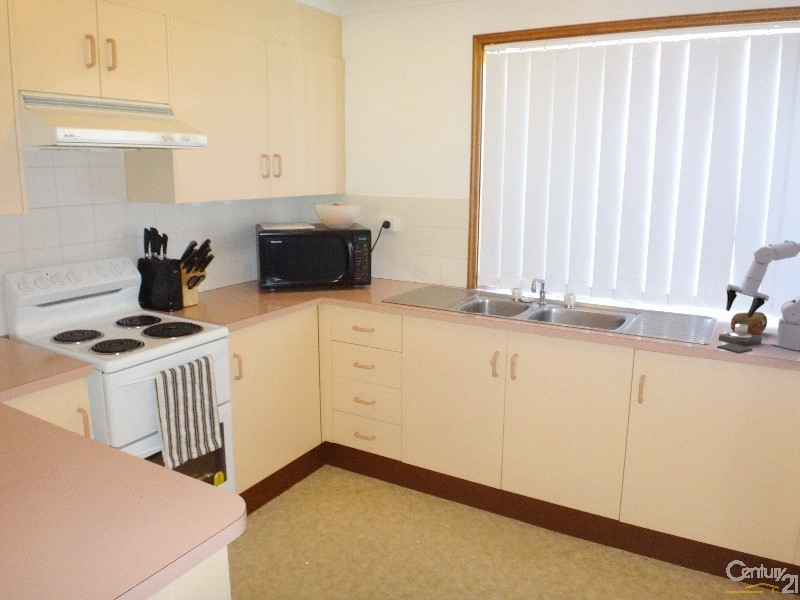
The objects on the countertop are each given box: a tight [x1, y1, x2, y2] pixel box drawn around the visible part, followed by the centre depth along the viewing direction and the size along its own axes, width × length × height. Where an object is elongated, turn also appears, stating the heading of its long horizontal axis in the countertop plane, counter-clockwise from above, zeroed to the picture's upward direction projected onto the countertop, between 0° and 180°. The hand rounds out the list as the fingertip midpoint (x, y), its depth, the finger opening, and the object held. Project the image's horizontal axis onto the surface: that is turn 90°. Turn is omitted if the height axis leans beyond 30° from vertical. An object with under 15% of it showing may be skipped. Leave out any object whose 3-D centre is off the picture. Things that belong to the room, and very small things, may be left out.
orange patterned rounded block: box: [730, 311, 768, 335], centre depth 248 cm, size 15×3×8 cm, turn 105°
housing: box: [718, 332, 763, 347], centre depth 237 cm, size 10×10×2 cm
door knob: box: [729, 324, 753, 339], centre depth 236 cm, size 7×7×6 cm
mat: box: [716, 343, 753, 354], centre depth 227 cm, size 8×8×1 cm
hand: (738, 313), depth 237 cm, fingers open, 7 cm apart
